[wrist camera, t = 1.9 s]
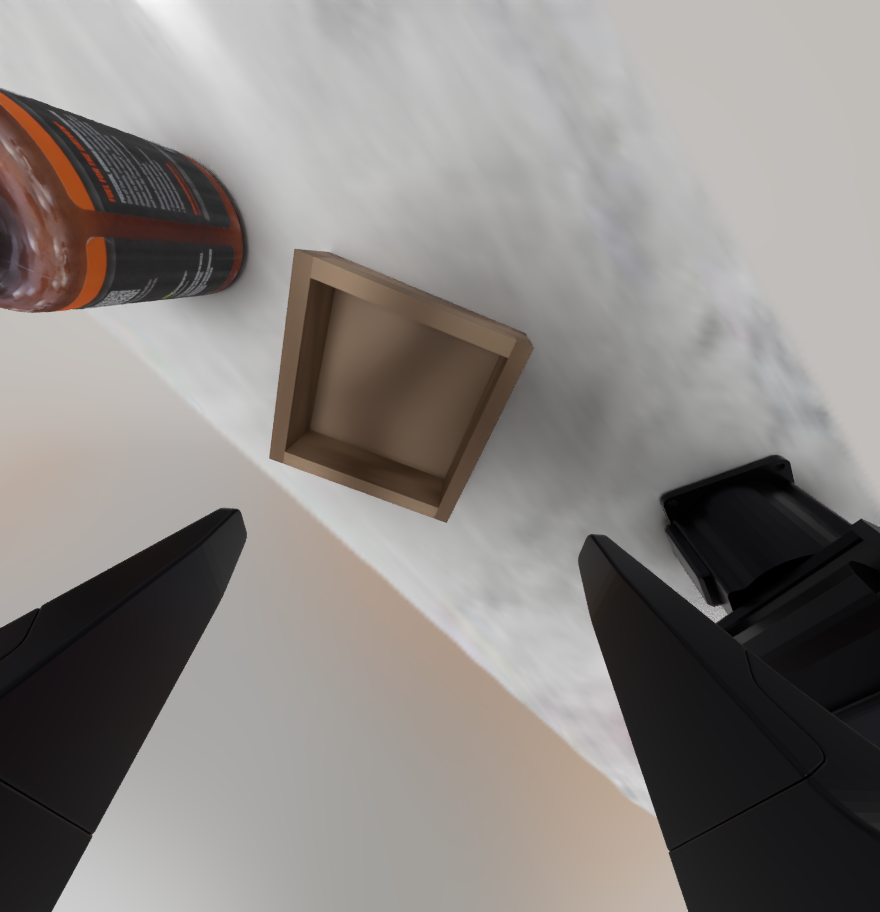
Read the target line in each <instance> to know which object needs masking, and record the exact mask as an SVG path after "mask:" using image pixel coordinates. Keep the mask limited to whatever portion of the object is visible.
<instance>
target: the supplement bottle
mask: <svg viewBox="0 0 880 912" xmlns="http://www.w3.org/2000/svg"><path fill="white" fill-rule="evenodd" d="M242 256H243V239H242V232H241V227H240V223H239V219H238V217H237V215H236V212H235V210H234V207H233V205H232V203H231V201H230V200H229V198H228V196H227V195H226V193H225V192H224V190H223V188H222V187H221V186H220V184H219V183H218V182H217V181H216V179H215V178H214V177H213V176H212V175H211V174H210V173H209V172H208V171H207V170H206V169H204V168H203V167H202V166H201V165H200V164H198V163H197V162H196V161H194V160H193V159H191V158H189V157H187V156H185V155H183V154H181V153H179V152H177V151H175V150H172V149H170V148H168V147H165V146H162V145H159V144H156V143H154V142H151V141H148V140H145V139H142V138H140V137H137V136H134V135H132V134H129V133H125V132H123V131H120V130H118V129H115V128H112V127H109V126H106V125H104V124H101V123H97V122H95V121H93V120H89V119H87V118H84V117H82V116H79V115H76V114H73V113H71V112H68V111H64V110H62V109H59V108H55V107H53V106H50V105H48V104H46V103H43V102H40V101H37V100H34V99H32V98H28V97H25V96H22V95H20V94H17V93H14V92H11V91H8V90H6V89H3V88H0V308H4V309H8V310H13V311H20V312H32V313H33V312H53V311H63V310H69V309H85V308H95V307H103V306H112V305H123V304H127V303H137V302H146V301H156V300H165V299H175V298H182V297H192V296H200V295H206V294H211V293H215V292H218V291H220V290H223V289H224V288H225V287H227V286H228V285H230V283H231V282H232V281H233V280H234V279H235V277H236V275H237V273H238V272H239V269H240V267H241V263H242Z"/></svg>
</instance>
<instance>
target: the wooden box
mask: <svg viewBox="0 0 880 912" xmlns="http://www.w3.org/2000/svg"><path fill="white" fill-rule="evenodd" d="M533 348H534V347H533V345H532V344H531V342H530V340H529V339H528V337H527V335H526V334H525V333H523V332H520V331H518V330H515V329H513V328H511V327H508V326H506V325H503V324H501V323H498V322H496V321H494V320H491V319H489V318H486V317H484V316H482V315H479V314H477V313H474V312H472V311H470V310H467V309H465V308H462V307H460V306H457V305H455V304H453V303H450V302H448V301H445V300H443V299H441V298H438V297H436V296H433V295H431V294H429V293H426V292H424V291H421V290H419V289H416V288H414V287H412V286H409V285H407V284H404V283H402V282H400V281H397V280H395V279H392V278H390V277H387V276H385V275H383V274H380V273H378V272H375V271H373V270H371V269H368V268H366V267H363V266H361V265H359V264H356V263H354V262H351V261H349V260H346V259H344V258H342V257H339V256H337V255H334V254H332V253H330V252H321V251H310V250H300V249H294V258H293V266H292V274H291V282H290V291H289V299H288V307H287V316H286V324H285V332H284V340H283V349H282V357H281V365H280V374H279V382H278V390H277V399H276V407H275V415H274V423H273V432H272V440H271V448H270V457H269V458H270V459H272V460H275V461H278V462H281V463H283V464H286V465H289V466H292V467H294V468H297V469H300V470H303V471H305V472H308V473H311V474H314V475H316V476H319V477H322V478H325V479H327V480H330V481H333V482H336V483H338V484H341V485H344V486H347V487H349V488H352V489H355V490H358V491H360V492H363V493H366V494H369V495H371V496H374V497H377V498H380V499H382V500H385V501H388V502H391V503H393V504H396V505H399V506H402V507H404V508H407V509H410V510H413V511H415V512H418V513H421V514H424V515H426V516H429V517H432V518H435V519H437V520H440V521H443V522H446V523H447V521H448V519H449V517H450V515H451V513H452V511H453V509H454V507H455V505H456V503H457V501H458V499H459V497H460V495H461V493H462V491H463V489H464V487H465V485H466V483H467V481H468V479H469V477H470V475H471V473H472V471H473V469H474V467H475V465H476V463H477V461H478V459H479V457H480V455H481V453H482V451H483V449H484V447H485V445H486V443H487V441H488V439H489V437H490V435H491V433H492V431H493V429H494V427H495V425H496V423H497V421H498V419H499V417H500V415H501V413H502V411H503V409H504V406H505V404H506V402H507V400H508V398H509V396H510V394H511V392H512V390H513V388H514V386H515V384H516V382H517V380H518V378H519V376H520V374H521V372H522V370H523V368H524V366H525V364H526V362H527V360H528V358H529V356H530V354H531V352H532V350H533Z"/></svg>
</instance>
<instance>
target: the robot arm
mask: <svg viewBox="0 0 880 912" xmlns="http://www.w3.org/2000/svg"><path fill="white" fill-rule="evenodd" d="M777 464H779V465H778V466H776V465H777ZM775 466H776V467H775ZM672 500H673V502H671V503H669V502H670V501H672ZM660 501H661V505H662V507H663V510H664V512H665V515H666V517H667V520H668V522H669V524H670V525H667V526H666V527H665V532H666V535H667V537H668V539H669V542H670V544H671V547H672V549H673V551H674V554H675V556H676V557H677V559H678V560H679V562H680V563H681V565H682V566H683V568H684V569H685V571H686V572H687V574H688V575H689V577H690V578H691V580H692V581H693V583H694V584H695V586H696V587H697V589H698V591H699V592H700V594H701V595H702V597H703V598H704V600H705V601H706V603H707V604H709V605H711V606H713V607H715V606H720V605H722V607H723V608H724V609H725V611H726V612H727V614H728V615H727V616H725V617H724V618H722V619H721V620H719V621H718V622H717V623H714V622H713V621H712V620H711V619H709V618H708V617H707V616H706V615H704V614H703V613H702V612H701V611H699V610H698V609H697V608H696V607H694V606H693V605H692V604H691V603H689V602H688V601H687V600H686V599H684V598H683V597H682V596H681V595H679V594H678V593H677V592H676V591H674V590H673V589H672V588H671V587H669V586H668V585H667V584H666V583H664V582H663V581H662V580H661V579H659V578H658V577H657V576H656V575H654V574H653V573H652V572H651V571H649V570H648V569H647V568H646V567H644V566H643V565H642V564H641V563H639V562H638V561H637V560H636V559H634V558H633V557H632V556H631V555H629V554H628V553H627V552H626V551H624V550H623V549H622V548H621V547H619V546H618V545H617V544H616V543H614V542H613V541H612V540H611V539H609V538H608V537H607V536H605V535H596V534H591V535H589V536H587V538H586V540H585V543H584V545H583V547H582V549H581V552H580V554H579V557H578V564H579V569H580V574H581V578H582V583H583V587H584V592H585V596H586V601H587V605H588V610H589V614H590V618H591V621H592V624H593V628H594V631H595V634H596V637H597V640H598V643H599V646H600V649H601V652H602V655H603V658H604V661H605V664H606V667H607V670H608V673H609V676H610V679H611V682H612V685H613V688H614V690H615V693H616V696H617V699H618V702H619V705H620V708H621V711H622V714H623V717H624V720H625V723H626V726H627V729H628V732H629V735H630V738H631V741H632V744H633V747H634V750H635V753H636V756H637V759H638V762H639V765H640V768H641V771H642V774H643V777H644V780H645V783H646V786H647V789H648V792H649V795H650V798H651V801H652V804H653V807H654V810H655V813H656V816H657V819H658V822H659V825H660V828H661V830H662V833H663V837H664V840H665V843H666V846H667V848H668V850H669V851H670V852H669V855H670V858H671V861H672V864H673V867H674V870H675V873H676V876H677V879H678V882H679V885H680V888H681V891H682V894H683V897H684V900H685V903H686V906H687V909H688V912H880V527H878V526H876V525H874V524H872V523H870V522H867V521H865V520H863V519H860V520H859V521H857V522H856V523H854V524H853V525H852V524H850V523H849V522H848V521H846V520H845V519H843V518H842V517H841V516H839V515H838V514H836V513H835V512H833V511H832V510H831V509H829V508H828V507H826V506H825V505H823V504H822V503H821V502H819V501H818V500H816V499H815V498H813V497H812V496H811V495H809V494H808V493H806V492H805V491H804V490H802V489H801V488H799V487H798V486H796V485H795V484H794V479H793V474H792V469H791V464H790V462H789V461H788V460H786V459H785V458H783V457H781V456H774V457H770V458H768V459H765V460H762V461H759V462H756V463H753V464H751V465H748V466H745V467H742V468H739V469H736V470H733V471H731V472H728V473H725V474H722V475H719V476H716V477H714V478H711V479H708V480H705V481H702V482H699V483H697V484H694V485H691V486H688V487H685V488H682V489H679V490H677V491H674V492H671V493H668V494H666V495H664V496H663V497H662V498H661V500H660ZM246 538H247V532H246V528H245V525H244V521H243V517H242V514H241V512H240V510H238V509H234V508H220V509H218V510H216V511H214V512H212V513H210V514H209V515H207V516H205V517H203V518H201V519H200V520H198V521H196V522H194V523H192V524H190V525H188V526H187V527H185V528H183V529H181V530H179V531H178V532H176V533H174V534H172V535H170V536H168V537H167V538H165V539H163V540H161V541H159V542H157V543H156V544H154V545H152V546H150V547H148V548H146V549H145V550H143V551H141V552H139V553H137V554H135V555H134V556H132V557H130V558H128V559H126V560H124V561H123V562H121V563H119V564H117V565H115V566H114V567H112V568H110V569H108V570H106V571H104V572H102V573H101V574H99V575H97V576H95V577H93V578H92V579H90V580H88V581H86V582H84V583H82V584H80V585H79V586H77V587H75V588H73V589H71V590H69V591H68V592H66V593H64V594H62V595H60V596H58V597H57V598H55V599H53V600H51V601H50V602H47V603H46V604H44V605H42V606H41V608H40V609H39V608H37V609H34V610H33V611H31V612H29V613H27V614H26V615H23V616H22V617H20V618H18V619H16V620H14V621H12V622H11V623H9V624H7V625H5V626H3V627H1V628H0V912H52V910H53V908H54V906H55V904H56V903H57V901H58V899H59V897H60V895H61V894H62V891H63V890H64V888H65V886H66V884H67V882H68V881H69V879H70V877H71V875H72V873H73V871H74V870H75V868H76V866H77V864H78V862H79V861H80V859H81V857H82V855H83V853H84V851H85V850H86V848H87V846H88V844H89V842H90V840H91V838H92V834H93V833H94V832H95V830H96V829H97V827H98V825H99V823H100V821H101V819H102V818H103V816H104V814H105V812H106V810H107V808H108V806H109V805H110V803H111V801H112V799H113V797H114V795H115V794H116V792H117V790H118V788H119V786H120V785H121V783H122V781H123V779H124V777H125V775H126V774H127V772H128V770H129V768H130V766H131V764H132V763H133V761H134V759H135V757H136V755H137V753H138V752H139V749H140V748H141V746H142V744H143V742H144V740H145V739H146V737H147V735H148V733H149V731H150V730H151V728H152V726H153V724H154V722H155V720H156V718H157V717H158V715H159V713H160V711H161V709H162V707H163V706H164V704H165V702H166V700H167V698H168V697H169V695H170V693H171V691H172V689H173V687H174V686H175V684H176V682H177V680H178V678H179V676H180V675H181V673H182V671H183V669H184V667H185V665H186V664H187V662H188V660H189V658H190V656H191V654H192V652H193V651H194V649H195V647H196V645H197V643H198V641H199V640H200V638H201V636H202V634H203V632H204V630H205V629H206V627H207V625H208V623H209V621H210V619H211V618H212V616H213V614H214V612H215V610H216V608H217V607H218V605H219V603H220V601H221V599H222V597H223V595H224V592H225V590H226V588H227V585H228V583H229V580H230V578H231V576H232V573H233V571H234V569H235V566H236V563H237V561H238V559H239V556H240V554H241V552H242V549H243V547H244V544H245V542H246Z"/></svg>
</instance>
